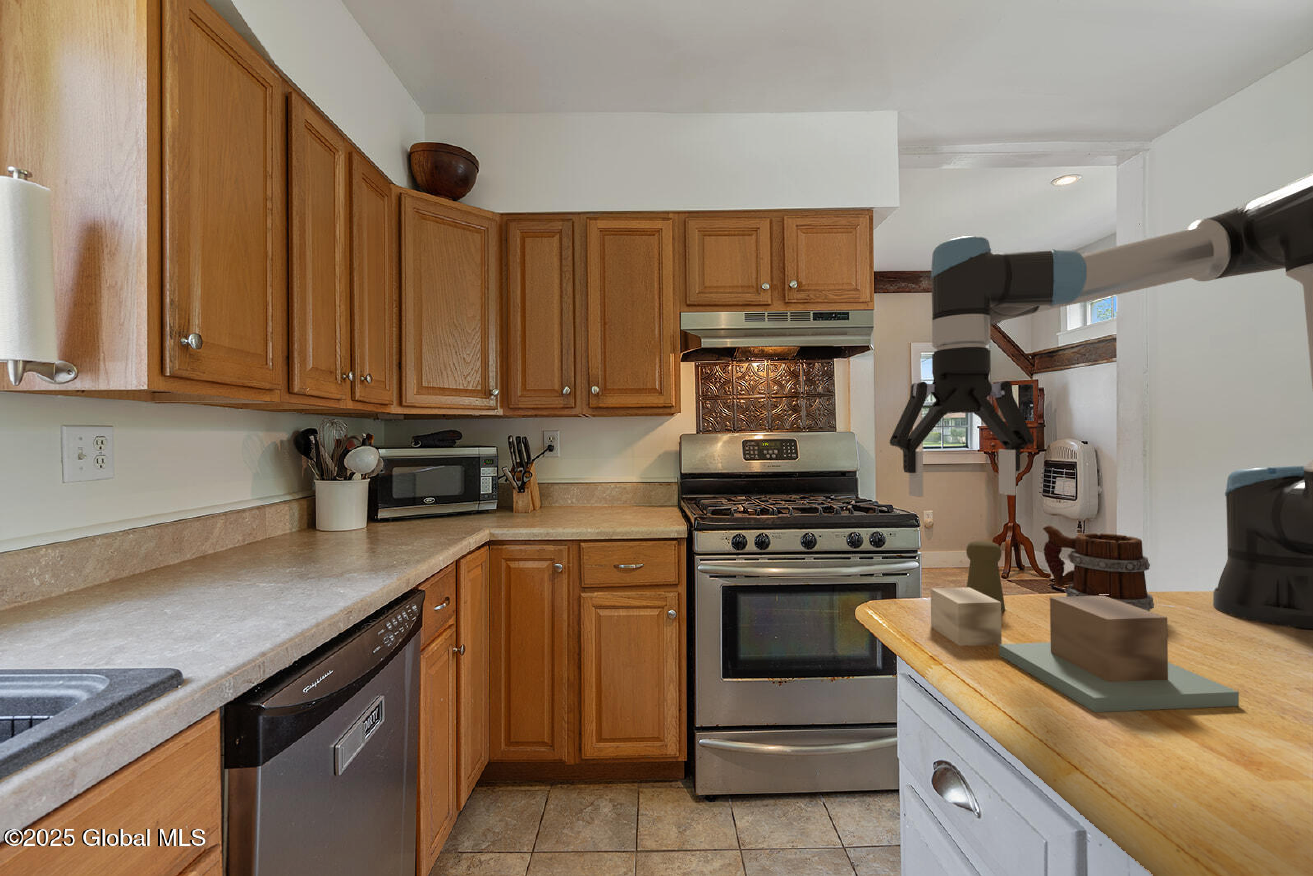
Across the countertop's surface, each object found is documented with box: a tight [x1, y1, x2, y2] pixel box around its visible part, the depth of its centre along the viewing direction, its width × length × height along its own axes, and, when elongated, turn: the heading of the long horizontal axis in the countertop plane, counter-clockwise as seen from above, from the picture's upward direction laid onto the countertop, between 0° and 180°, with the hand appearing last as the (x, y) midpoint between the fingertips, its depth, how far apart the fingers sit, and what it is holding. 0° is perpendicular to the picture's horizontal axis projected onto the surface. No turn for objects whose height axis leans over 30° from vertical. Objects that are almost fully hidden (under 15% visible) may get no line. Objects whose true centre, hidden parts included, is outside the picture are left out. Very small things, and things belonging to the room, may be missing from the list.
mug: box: [1042, 525, 1155, 612], centre depth 99 cm, size 12×14×15 cm
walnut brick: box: [1049, 596, 1169, 682], centre depth 71 cm, size 7×9×7 cm
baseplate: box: [998, 641, 1240, 713], centre depth 71 cm, size 16×16×2 cm
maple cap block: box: [930, 587, 1003, 647], centre depth 86 cm, size 6×8×6 cm
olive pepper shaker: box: [965, 540, 1006, 613], centre depth 100 cm, size 6×6×11 cm
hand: (961, 495), depth 86 cm, fingers open, 13 cm apart
